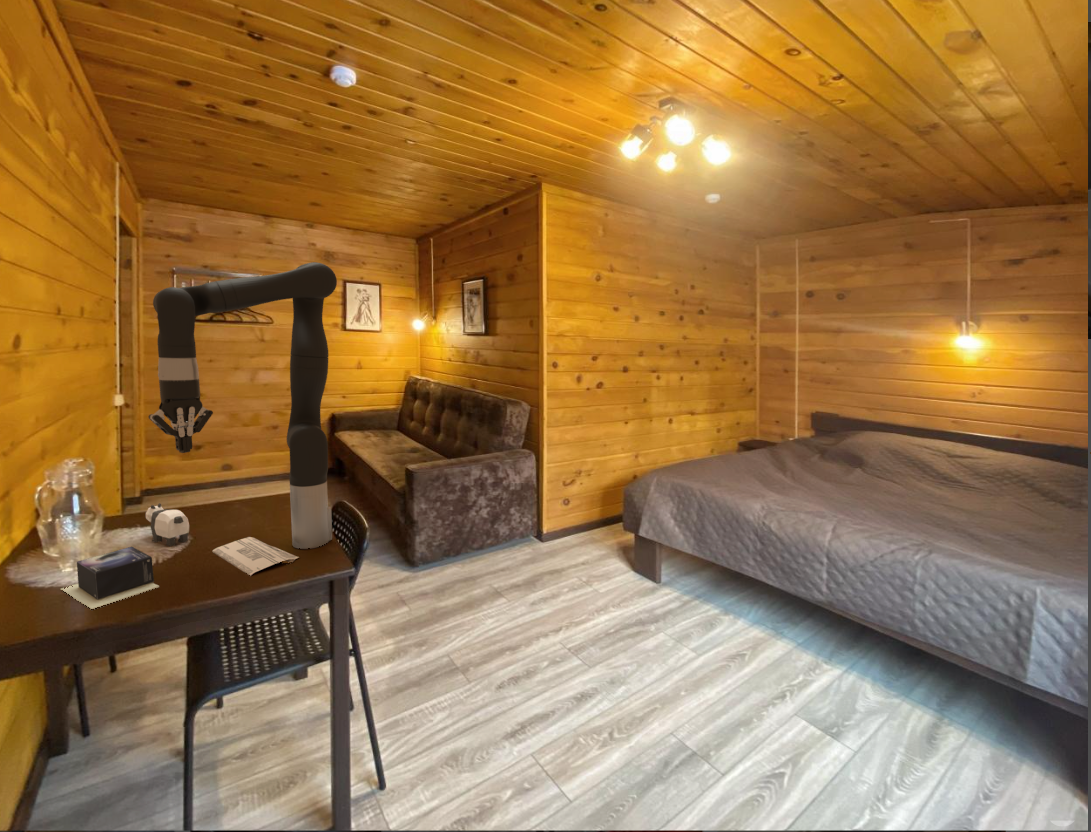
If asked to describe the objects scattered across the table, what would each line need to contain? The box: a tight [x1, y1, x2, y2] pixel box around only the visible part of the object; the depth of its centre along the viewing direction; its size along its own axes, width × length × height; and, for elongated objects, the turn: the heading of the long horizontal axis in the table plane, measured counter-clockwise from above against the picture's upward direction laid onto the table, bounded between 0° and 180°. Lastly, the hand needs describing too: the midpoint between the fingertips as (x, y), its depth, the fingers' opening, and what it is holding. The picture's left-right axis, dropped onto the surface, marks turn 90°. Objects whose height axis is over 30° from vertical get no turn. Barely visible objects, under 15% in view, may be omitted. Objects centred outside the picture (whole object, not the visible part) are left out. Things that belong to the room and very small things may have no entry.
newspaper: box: [212, 536, 300, 577], centre depth 134 cm, size 23×12×2 cm, turn 53°
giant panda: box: [145, 503, 190, 547], centre depth 143 cm, size 15×6×10 cm, turn 65°
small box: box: [76, 546, 155, 600], centre depth 116 cm, size 11×6×10 cm
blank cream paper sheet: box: [60, 582, 160, 610], centre depth 115 cm, size 12×16×1 cm
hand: (184, 452), depth 121 cm, fingers closed
